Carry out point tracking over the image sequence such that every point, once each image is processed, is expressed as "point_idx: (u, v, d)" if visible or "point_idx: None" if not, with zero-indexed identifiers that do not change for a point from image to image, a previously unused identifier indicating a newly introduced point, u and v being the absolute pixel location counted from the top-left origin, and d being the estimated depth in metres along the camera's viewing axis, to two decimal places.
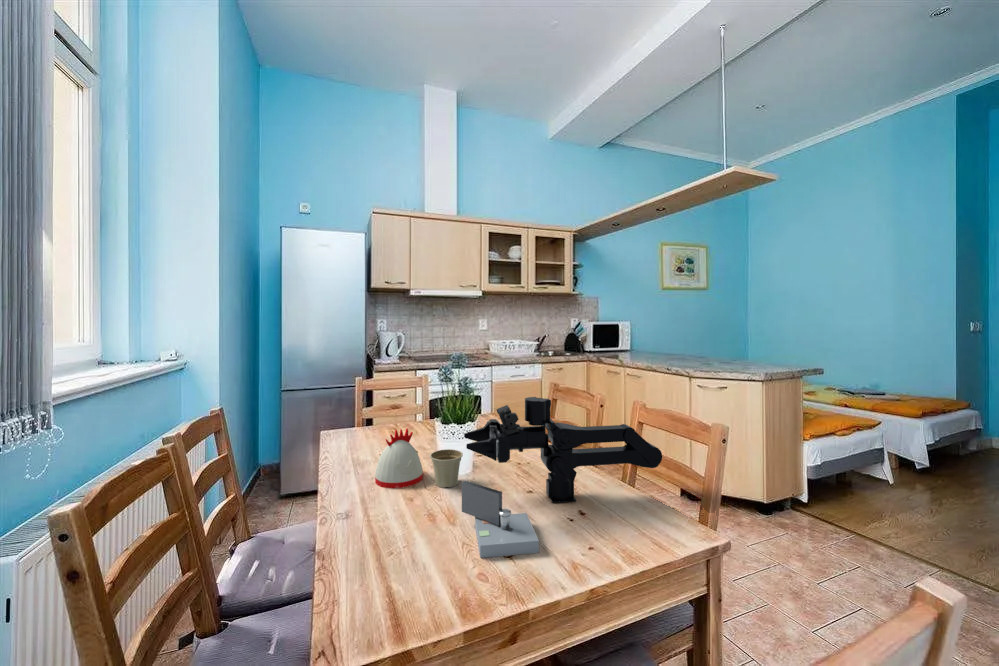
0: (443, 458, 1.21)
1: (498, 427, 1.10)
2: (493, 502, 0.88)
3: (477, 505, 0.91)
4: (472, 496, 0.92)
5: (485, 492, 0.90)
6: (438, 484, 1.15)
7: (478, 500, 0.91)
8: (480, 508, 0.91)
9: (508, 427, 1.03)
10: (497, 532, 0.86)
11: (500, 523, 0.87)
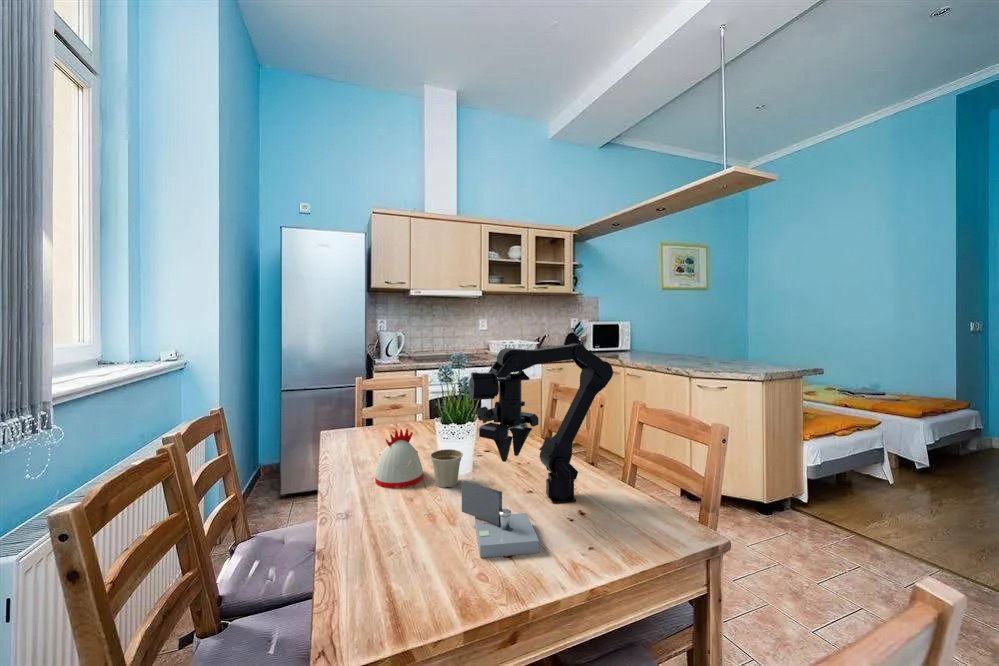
0: (443, 458, 1.21)
1: None
2: (493, 502, 0.88)
3: (477, 505, 0.91)
4: (472, 496, 0.92)
5: (485, 492, 0.90)
6: (438, 484, 1.15)
7: (478, 500, 0.91)
8: (480, 508, 0.91)
9: (492, 416, 1.03)
10: (497, 532, 0.86)
11: (500, 523, 0.87)
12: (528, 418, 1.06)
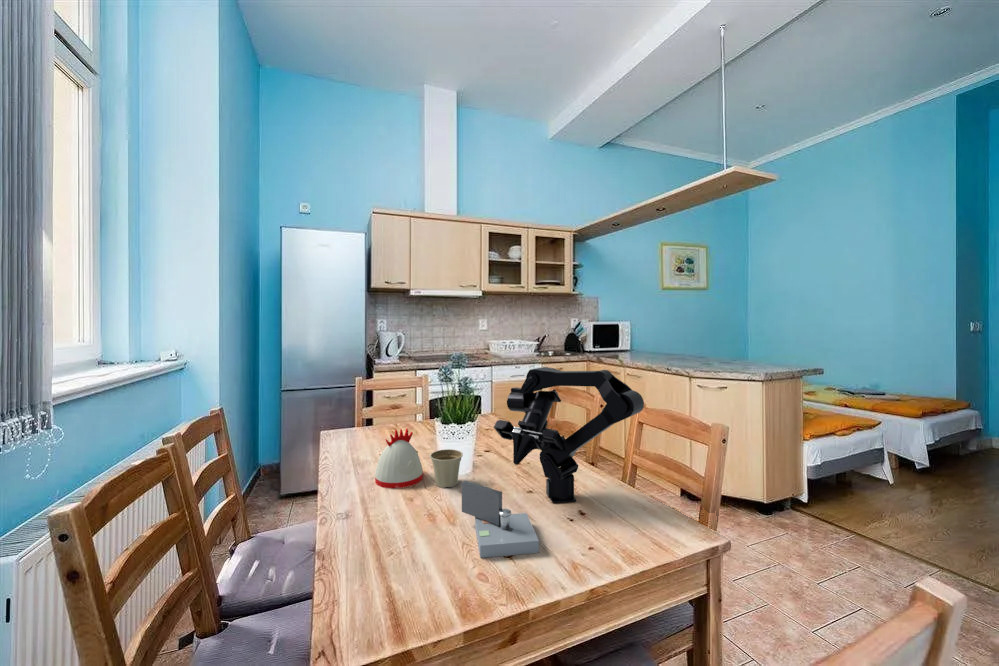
0: (443, 458, 1.21)
1: None
2: (493, 502, 0.88)
3: (477, 505, 0.91)
4: (472, 496, 0.92)
5: (485, 492, 0.90)
6: (438, 484, 1.15)
7: (478, 500, 0.91)
8: (480, 508, 0.91)
9: None
10: (497, 532, 0.86)
11: (500, 523, 0.87)
12: None
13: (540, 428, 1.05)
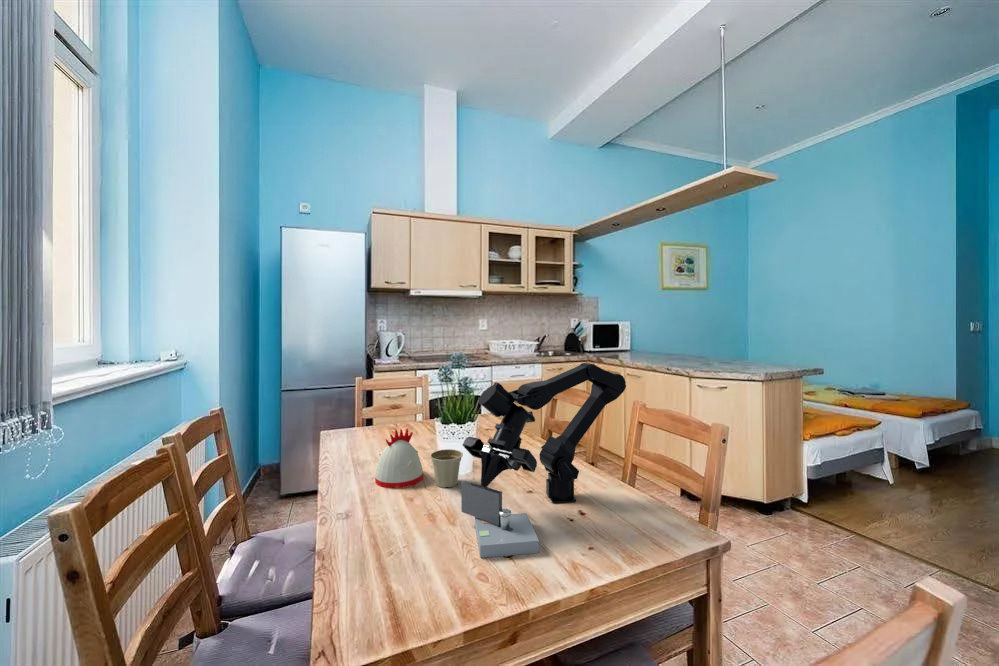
0: (443, 458, 1.21)
1: None
2: (493, 502, 0.88)
3: (477, 505, 0.91)
4: (472, 496, 0.92)
5: (485, 492, 0.90)
6: (438, 484, 1.15)
7: (478, 500, 0.91)
8: (480, 508, 0.91)
9: None
10: (497, 532, 0.86)
11: (500, 523, 0.87)
12: None
13: (512, 446, 0.96)
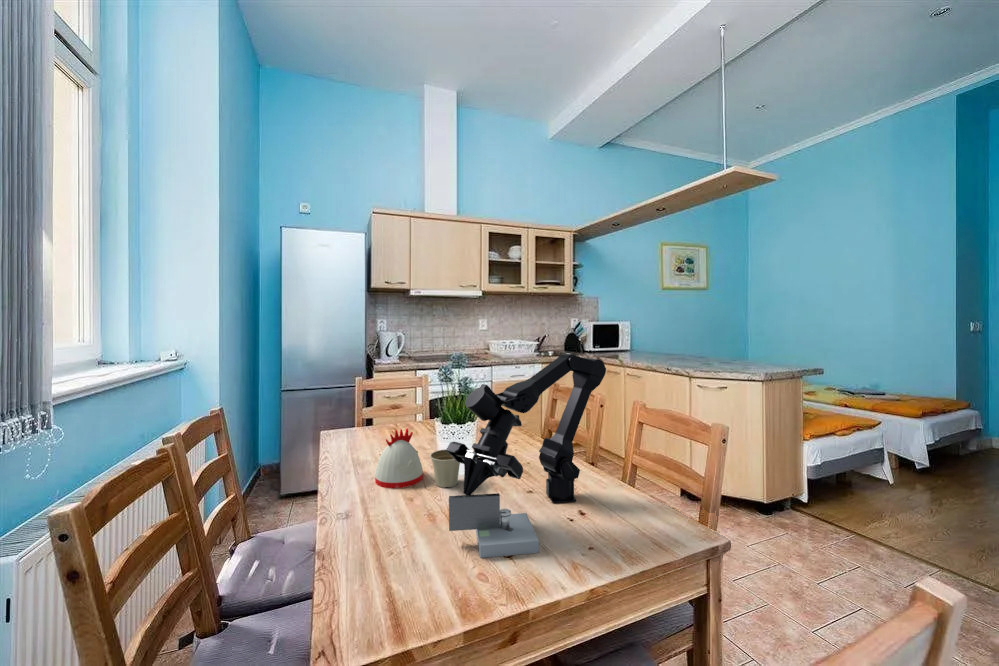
0: (443, 458, 1.21)
1: None
2: (492, 506, 0.86)
3: (471, 516, 0.86)
4: (465, 509, 0.86)
5: (482, 499, 0.86)
6: (438, 484, 1.15)
7: (473, 511, 0.86)
8: (475, 518, 0.86)
9: None
10: (497, 532, 0.86)
11: (502, 525, 0.87)
12: None
13: (497, 452, 0.91)
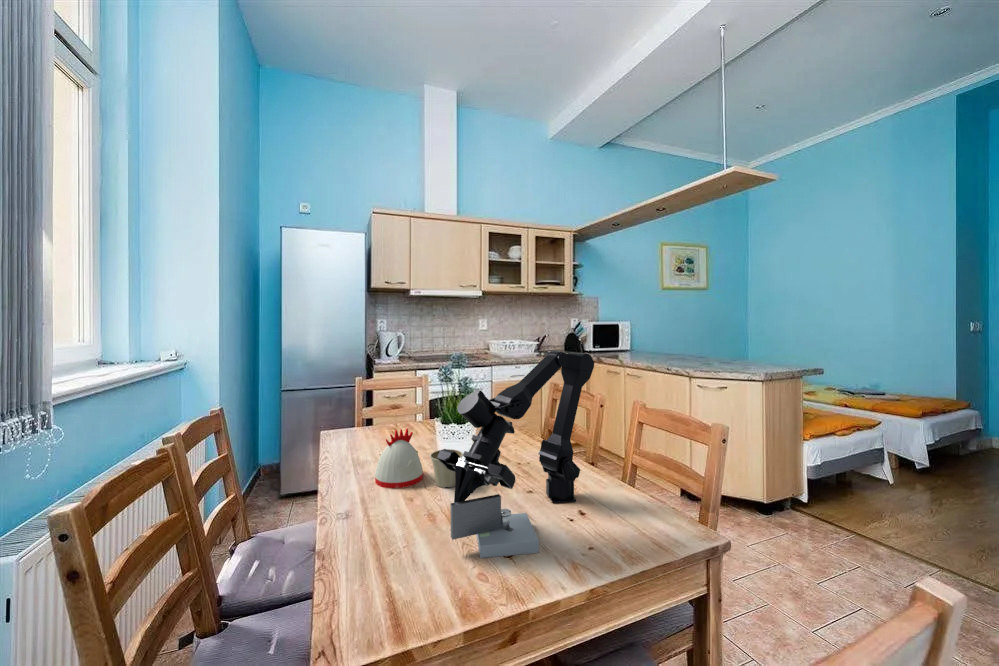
0: None
1: None
2: (494, 508, 0.86)
3: (474, 521, 0.84)
4: (468, 515, 0.83)
5: (484, 502, 0.85)
6: (438, 484, 1.15)
7: (475, 515, 0.84)
8: (478, 522, 0.84)
9: None
10: (497, 532, 0.86)
11: (503, 525, 0.86)
12: None
13: (489, 460, 0.88)
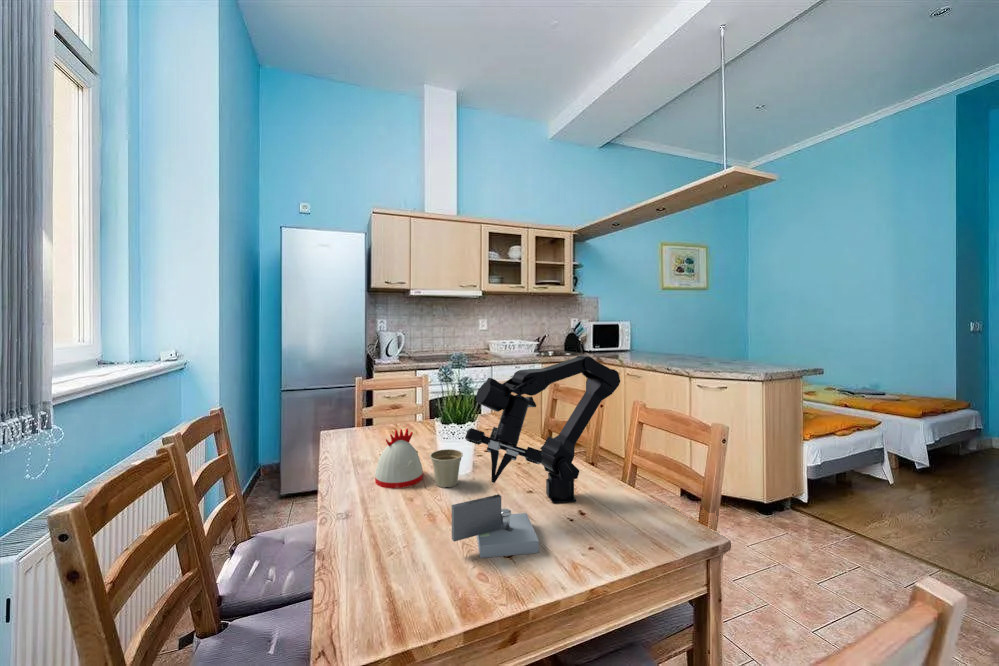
0: (443, 458, 1.21)
1: None
2: (495, 508, 0.86)
3: (475, 522, 0.83)
4: (469, 516, 0.83)
5: (485, 503, 0.84)
6: (438, 484, 1.15)
7: (476, 516, 0.84)
8: (479, 523, 0.84)
9: None
10: (497, 532, 0.86)
11: (503, 525, 0.86)
12: (527, 448, 0.95)
13: (517, 441, 0.98)
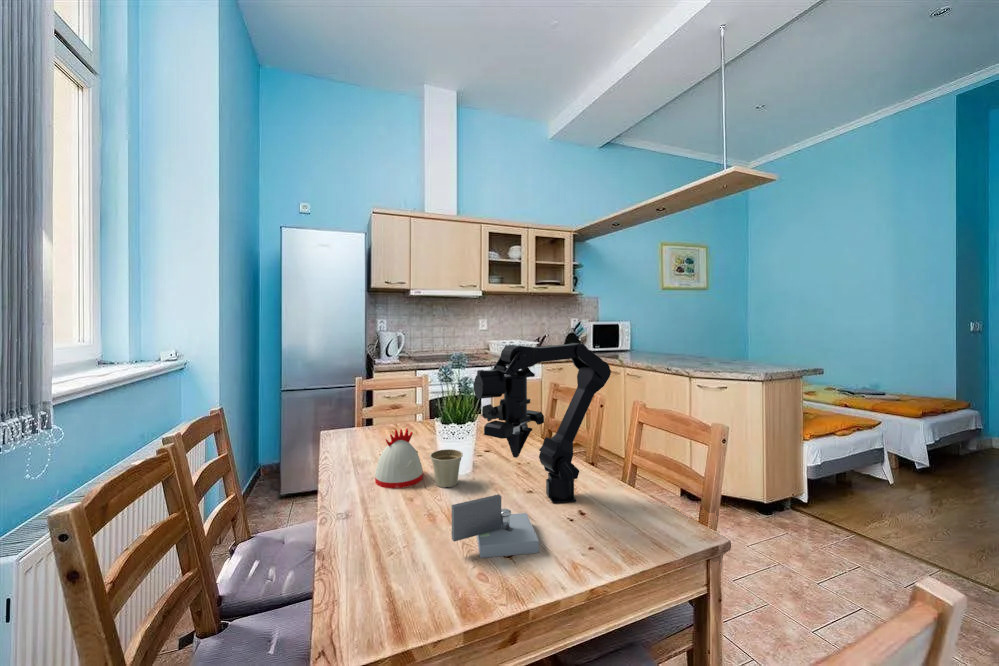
0: (443, 458, 1.21)
1: None
2: (495, 508, 0.86)
3: (475, 522, 0.83)
4: (469, 516, 0.83)
5: (485, 503, 0.84)
6: (438, 484, 1.15)
7: (476, 516, 0.84)
8: (479, 523, 0.84)
9: (497, 414, 1.01)
10: (497, 532, 0.86)
11: (503, 525, 0.86)
12: (533, 416, 1.04)
13: None
